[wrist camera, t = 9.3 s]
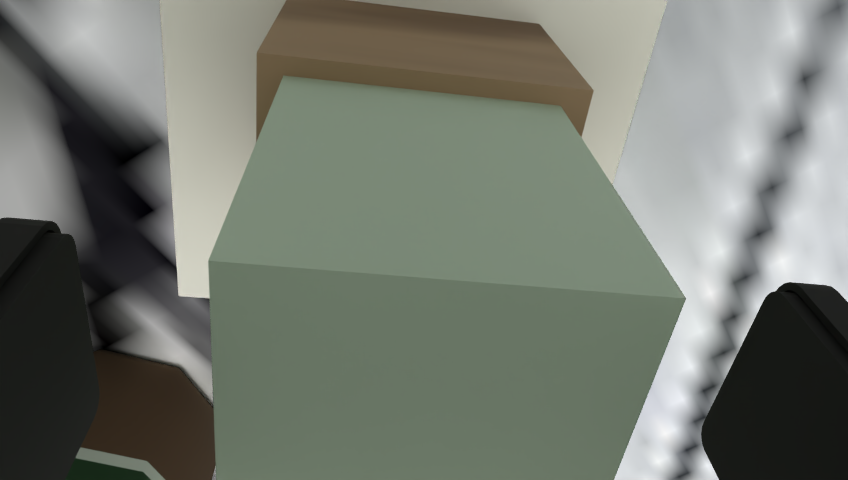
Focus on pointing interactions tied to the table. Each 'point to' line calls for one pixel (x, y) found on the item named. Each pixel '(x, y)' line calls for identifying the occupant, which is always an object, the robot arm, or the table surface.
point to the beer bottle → (146, 425)
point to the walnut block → (417, 55)
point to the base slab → (261, 3)
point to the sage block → (429, 295)
